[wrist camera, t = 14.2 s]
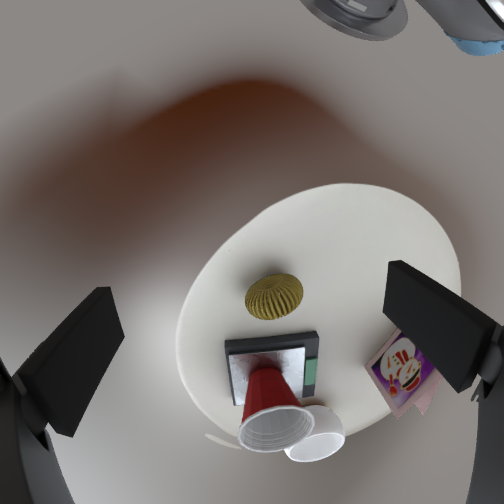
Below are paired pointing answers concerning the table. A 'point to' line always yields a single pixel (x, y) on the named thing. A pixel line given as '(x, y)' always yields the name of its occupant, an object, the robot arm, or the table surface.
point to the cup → (319, 436)
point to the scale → (274, 362)
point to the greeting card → (403, 375)
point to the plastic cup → (272, 414)
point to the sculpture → (274, 296)
